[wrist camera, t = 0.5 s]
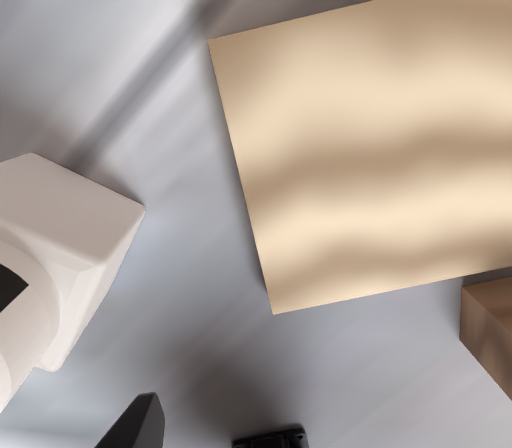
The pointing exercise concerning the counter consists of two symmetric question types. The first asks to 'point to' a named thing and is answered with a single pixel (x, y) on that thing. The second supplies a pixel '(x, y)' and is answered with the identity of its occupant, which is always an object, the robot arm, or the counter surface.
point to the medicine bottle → (54, 261)
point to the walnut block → (489, 327)
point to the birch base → (373, 145)
